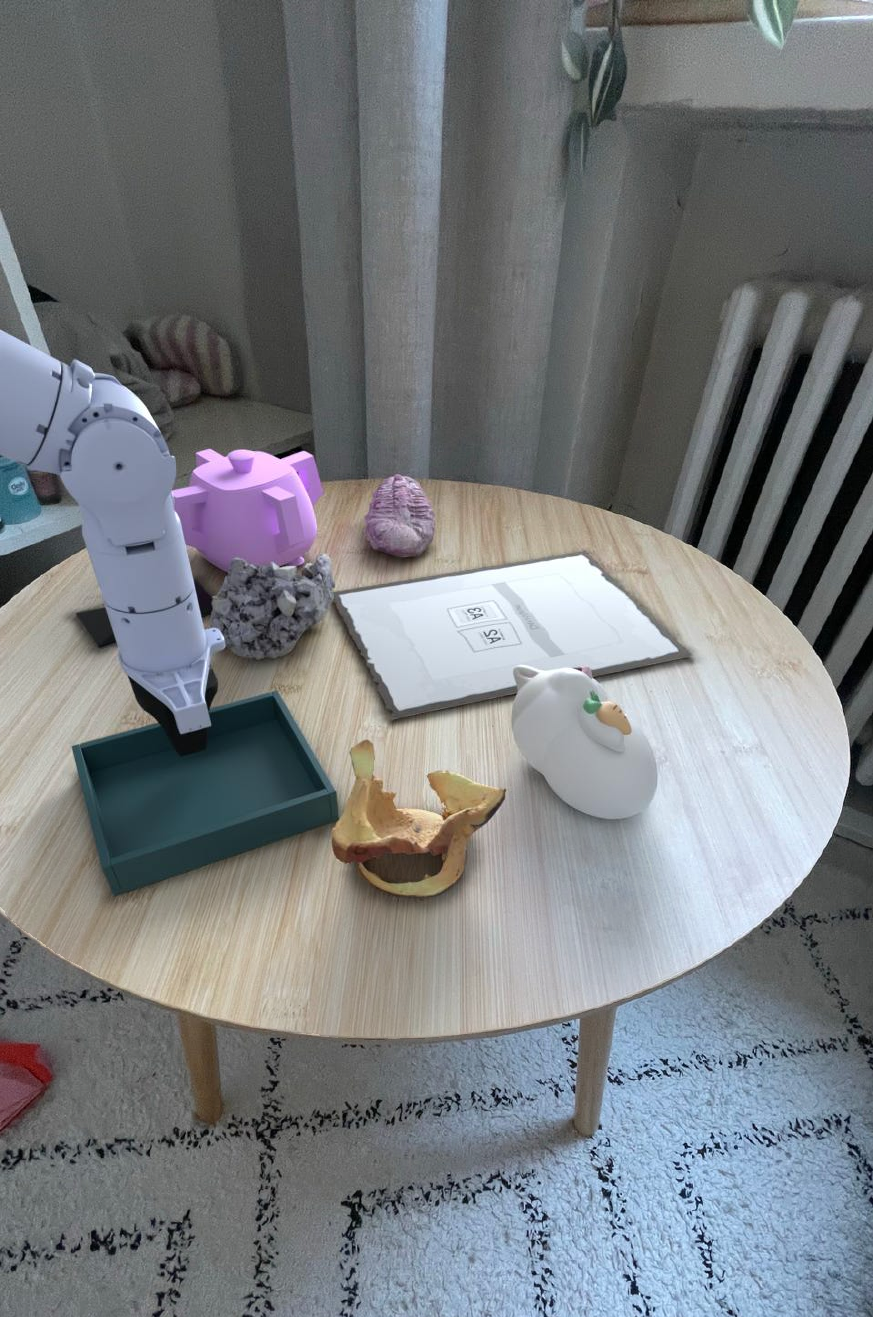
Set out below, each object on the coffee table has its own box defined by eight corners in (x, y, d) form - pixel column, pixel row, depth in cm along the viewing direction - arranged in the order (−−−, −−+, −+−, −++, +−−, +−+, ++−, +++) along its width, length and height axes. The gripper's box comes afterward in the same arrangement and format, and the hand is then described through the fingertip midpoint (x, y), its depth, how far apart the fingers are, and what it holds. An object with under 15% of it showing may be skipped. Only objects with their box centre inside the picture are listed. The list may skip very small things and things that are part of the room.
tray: (114, 896, 51) (101, 868, 49) (83, 774, 60) (71, 745, 58) (339, 819, 57) (336, 791, 55) (282, 717, 65) (277, 689, 63)
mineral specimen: (340, 567, 77) (288, 507, 68) (366, 640, 73) (314, 587, 64) (239, 623, 79) (176, 573, 70) (259, 697, 75) (195, 654, 67)
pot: (230, 621, 76) (208, 507, 68) (144, 557, 85) (115, 449, 77) (370, 562, 85) (365, 456, 77) (279, 510, 94) (266, 409, 86)
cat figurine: (681, 740, 50) (543, 611, 58) (585, 820, 50) (461, 680, 58) (693, 792, 58) (570, 672, 66) (610, 860, 58) (498, 733, 66)
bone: (357, 936, 50) (349, 852, 44) (310, 833, 56) (298, 747, 50) (519, 877, 53) (531, 792, 48) (457, 786, 60) (462, 702, 54)
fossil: (430, 508, 95) (431, 466, 92) (438, 565, 85) (440, 520, 82) (364, 507, 95) (363, 465, 91) (364, 565, 85) (363, 520, 81)
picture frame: (391, 720, 65) (692, 656, 73) (391, 718, 65) (693, 654, 73) (328, 593, 80) (585, 552, 88) (328, 591, 80) (585, 549, 87)
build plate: (194, 581, 82) (186, 540, 78) (223, 612, 77) (215, 570, 74) (75, 615, 76) (61, 573, 73) (99, 650, 72) (85, 607, 69)
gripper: (241, 632, 46) (271, 791, 56) (184, 531, 55) (217, 682, 65) (121, 661, 44) (173, 822, 53) (81, 550, 53) (131, 704, 63)
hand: (191, 747), depth 59 cm, fingers closed
